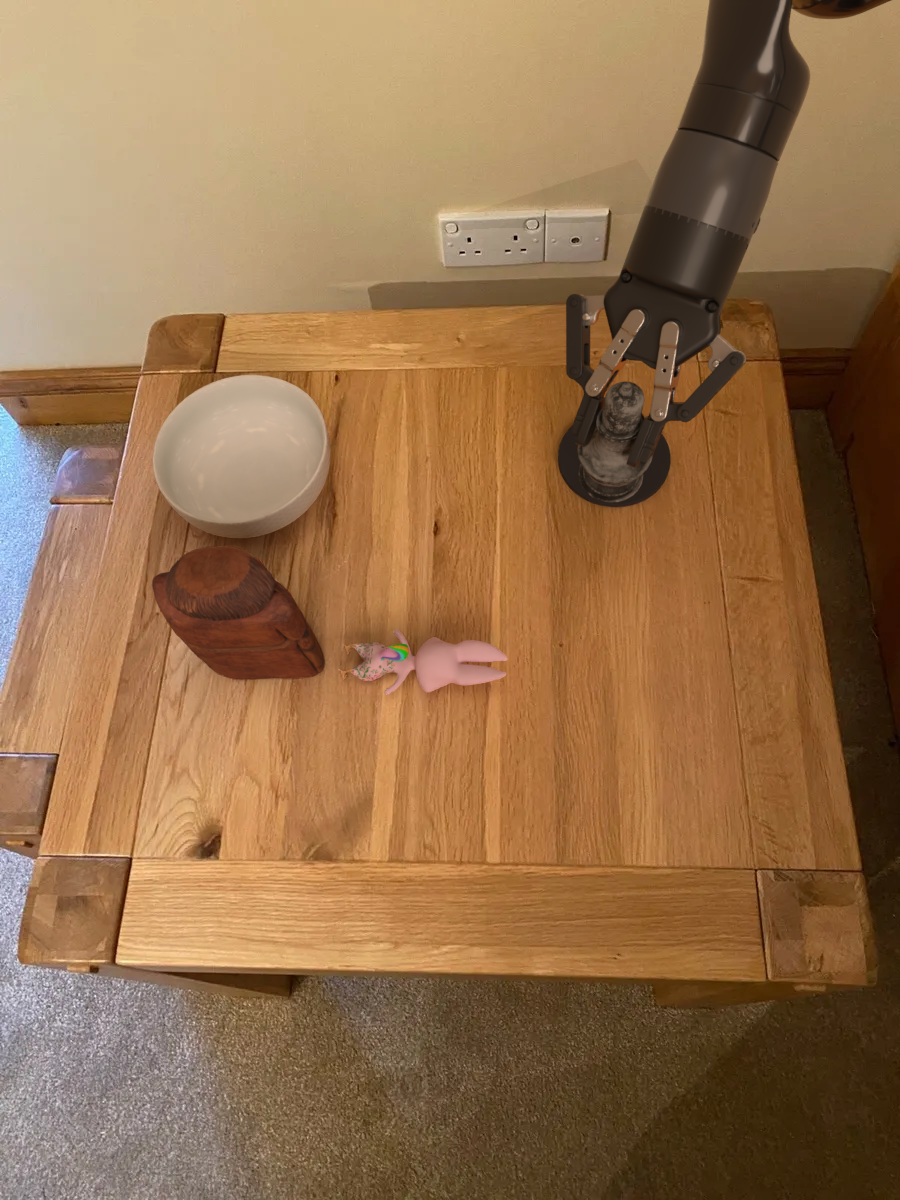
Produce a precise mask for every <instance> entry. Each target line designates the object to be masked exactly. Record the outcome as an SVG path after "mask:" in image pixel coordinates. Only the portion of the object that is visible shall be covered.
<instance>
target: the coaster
mask: <svg viewBox="0 0 900 1200" xmlns="http://www.w3.org/2000/svg"><path fill="white" fill-rule="evenodd" d="M572 426H573V424H572V425H571V426H570V427H569V428H568V429H567V430H566V432H565V433H564V435H563V437H562V438H561V441H560V443H559V446H558V452H557V463H558V464H557V465H558V469H559V472H560V475H561V477H562V480H563V481H564V482H565V484H566V485H567V486H568V487H569V489H570V490H571V491H572V492H573V493H574V494H576V495H577V496H579V497H580V498H581V499H583V500H585V501H587V502H590V503H591V504H594V505H596V506H597V505H598V506H602V507H607V508H624V507H630V506H634V505H637V504H640V503H641V502H644V501H646V500H648V499H649V498H651V497H652V496H653V495H655V494H656V493H657V492H658V491H659V490H660V489H661V487H662V486H663V485H664V483H665V481H666V479H667V478H668V475H669V472H670V469H671V462H672V459H671V458H672V456H671V450H670V447H669V444H668V442H667V440H666V438H665V436H664V435H663V433H662V434H661V436H660V439H659V441H658V444H657V446H656V448H655V451H654V453H653V456H652V461H651V463H650V465H649V467H648V469H647V470H646V471H645V472H644V473H643V481H642V484H641V486H640V488H639V490H638V491H637V492H636V493H635V494H634V495H633V496H632V497H630V498H628V499H626V500H623V501H620V502H604V501H600V500H597V499H595V498H593V497H592V496H590V495H589V494H588V493H586V491H585V490H584V489H583V487H582V486H581V483H580V481H579V473H578V472H579V468H580V464H581V463H580V460H579V458H578V445H577V444H575V441H576V438H577V436H576V435H573V434H572Z"/></svg>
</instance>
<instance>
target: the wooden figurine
mask: <svg viewBox="0 0 900 1200" xmlns="http://www.w3.org/2000/svg"><path fill="white" fill-rule="evenodd" d="M151 586H152V591H153V596H154V599H155V602H156V605H157V606H158V609H159V611H160V612H161V614H162V615H163V618H164V619H165V621H166V622H167V624H168V625H169V627H170V628H171V630H172V631H173V633H174V634H175V635H176V636H177V637H178V638H179V639H180V640H181V641H182V642H183V643H184V644H185V645H186V647H187V648H188V649H190V651H191V652H192V653H193V654H194V655H195V656H196V657H197V658H198V659H199V660H201V661H202V662H203V663H204V664H205V665H206V666H207V667H208V668H209V669H211V670H212V671H213V672H214V673H216V674H218V675H220V676H223V677H225V678H228V679H231V680H238V681H245V680H247V681H248V680H249V681H250V680H251V681H252V680H268V679H271V680H272V679H283V680H284V679H286V680H290V679H303V678H304V679H305V678H313V677H315V676H318V674H320V673H321V672H323V671H324V669H325V665H326V659H325V655H324V651H323V649H322V647H321V645H320V643H319V640H318V639H317V636H316V635H315V633H314V631H313V629H312V628H311V626H310V624H309V623H308V621H307V620H306V618H305V616H304V613H303V612H302V610H301V609H300V607H299V605H298V603H297V601H296V600H295V599H294V597H293V595H292V593H290V591H289V590H288V589H287V588H286V587H285V586H284V585H283V584H282V583H281V582H280V581H278V580H276V579H275V577H274V576H273V574H272V572H270V571H269V569H268V568H267V566H266V565H265V564H264V563H263V562H262V560H261V559H260V558H259V557H257V556H253V554H252V553H250V552H248V551H247V550H245V549H243V548H239V547H235V546H230V545H228V546H224V545H223V546H222V545H221V546H203V547H199V548H195V549H192V550H190V551H188V552H186V553H184V554H183V555H181V556H180V557H179V559H178V560H176V562H175V563H174V564H173V565H172V566H171V568H170V570H169V571H165V572H161V573H158V574H156V575H155V576H153V578H152V582H151Z"/></svg>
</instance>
